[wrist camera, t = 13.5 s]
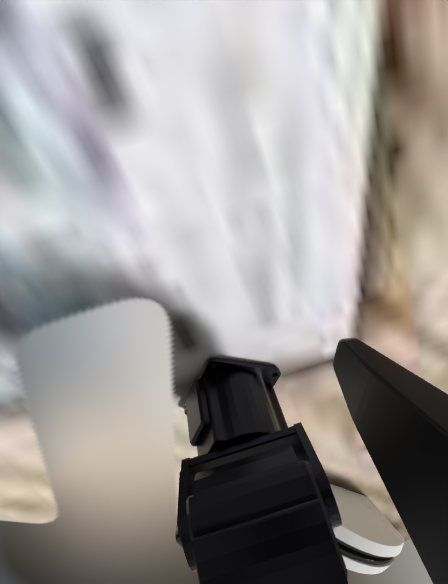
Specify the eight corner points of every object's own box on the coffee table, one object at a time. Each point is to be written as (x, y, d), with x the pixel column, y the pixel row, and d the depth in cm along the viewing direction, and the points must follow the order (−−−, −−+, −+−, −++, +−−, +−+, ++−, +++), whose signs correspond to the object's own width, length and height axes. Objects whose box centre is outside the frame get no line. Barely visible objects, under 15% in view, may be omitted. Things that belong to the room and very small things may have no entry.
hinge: (258, 491, 40) (310, 578, 32) (281, 458, 40) (339, 536, 32) (340, 515, 49) (399, 589, 40) (359, 487, 48) (423, 555, 40)
